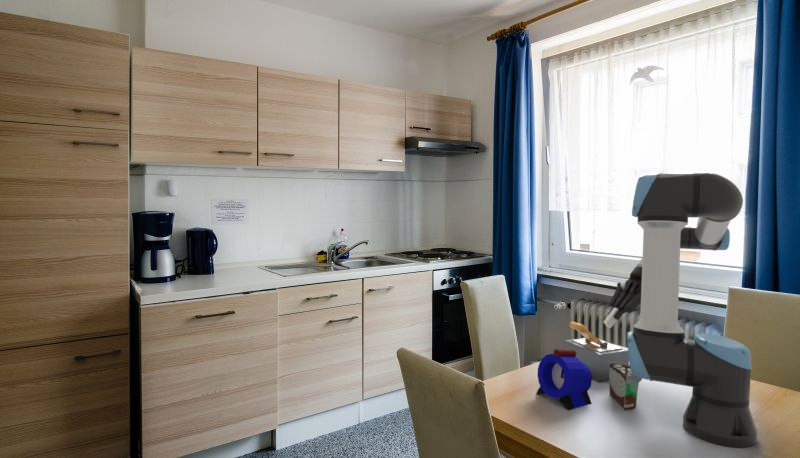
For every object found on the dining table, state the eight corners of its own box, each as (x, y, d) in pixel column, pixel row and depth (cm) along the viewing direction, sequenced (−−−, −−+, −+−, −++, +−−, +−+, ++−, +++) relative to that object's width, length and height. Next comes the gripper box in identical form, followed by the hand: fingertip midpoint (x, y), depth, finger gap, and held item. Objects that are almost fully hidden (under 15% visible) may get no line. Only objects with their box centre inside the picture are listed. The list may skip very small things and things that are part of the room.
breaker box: (592, 361, 167) (593, 331, 166) (628, 377, 152) (629, 344, 151) (564, 365, 163) (565, 335, 162) (598, 382, 148) (599, 348, 147)
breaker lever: (591, 336, 160) (571, 320, 156) (603, 341, 154) (583, 324, 151) (587, 342, 159) (568, 325, 156) (600, 346, 154) (580, 330, 151)
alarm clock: (534, 394, 139) (535, 344, 138) (564, 387, 145) (565, 338, 144) (566, 411, 128) (567, 357, 127) (597, 402, 134) (599, 350, 133)
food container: (649, 412, 127) (650, 376, 127) (626, 412, 127) (627, 376, 127) (628, 394, 140) (629, 360, 139) (607, 393, 140) (608, 360, 139)
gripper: (668, 282, 158) (628, 337, 153) (636, 276, 170) (598, 327, 165) (656, 268, 156) (616, 323, 151) (625, 262, 168) (586, 313, 163)
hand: (607, 325), depth 158 cm, fingers closed
